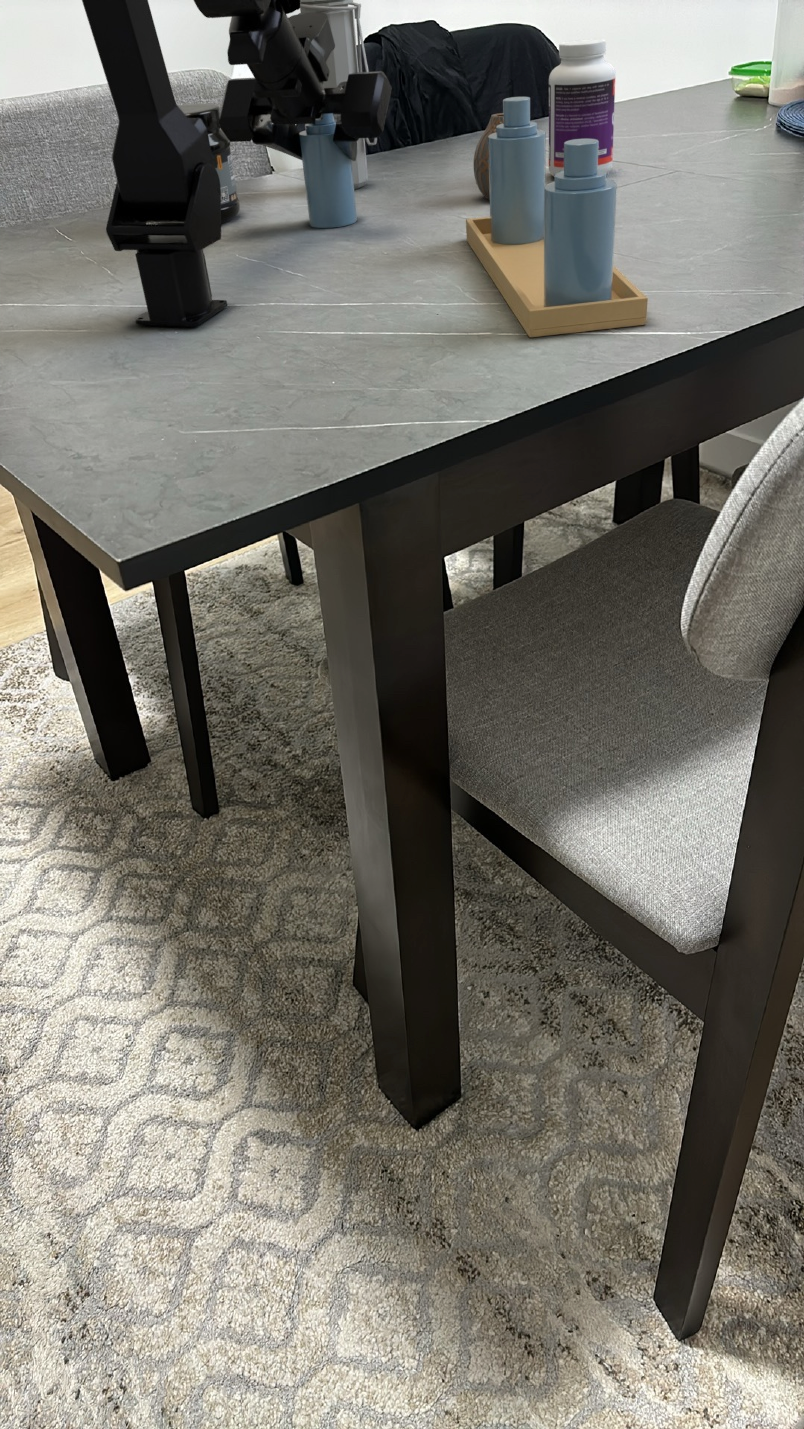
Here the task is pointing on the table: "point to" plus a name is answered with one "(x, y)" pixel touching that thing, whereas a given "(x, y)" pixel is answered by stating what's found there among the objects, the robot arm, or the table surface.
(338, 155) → the loose bottle
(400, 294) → the table surface
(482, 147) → the vase
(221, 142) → the supplement container
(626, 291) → the tray
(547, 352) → the table surface
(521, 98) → the bottle
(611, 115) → the pill bottle
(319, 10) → the water bottle
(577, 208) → the bottle
